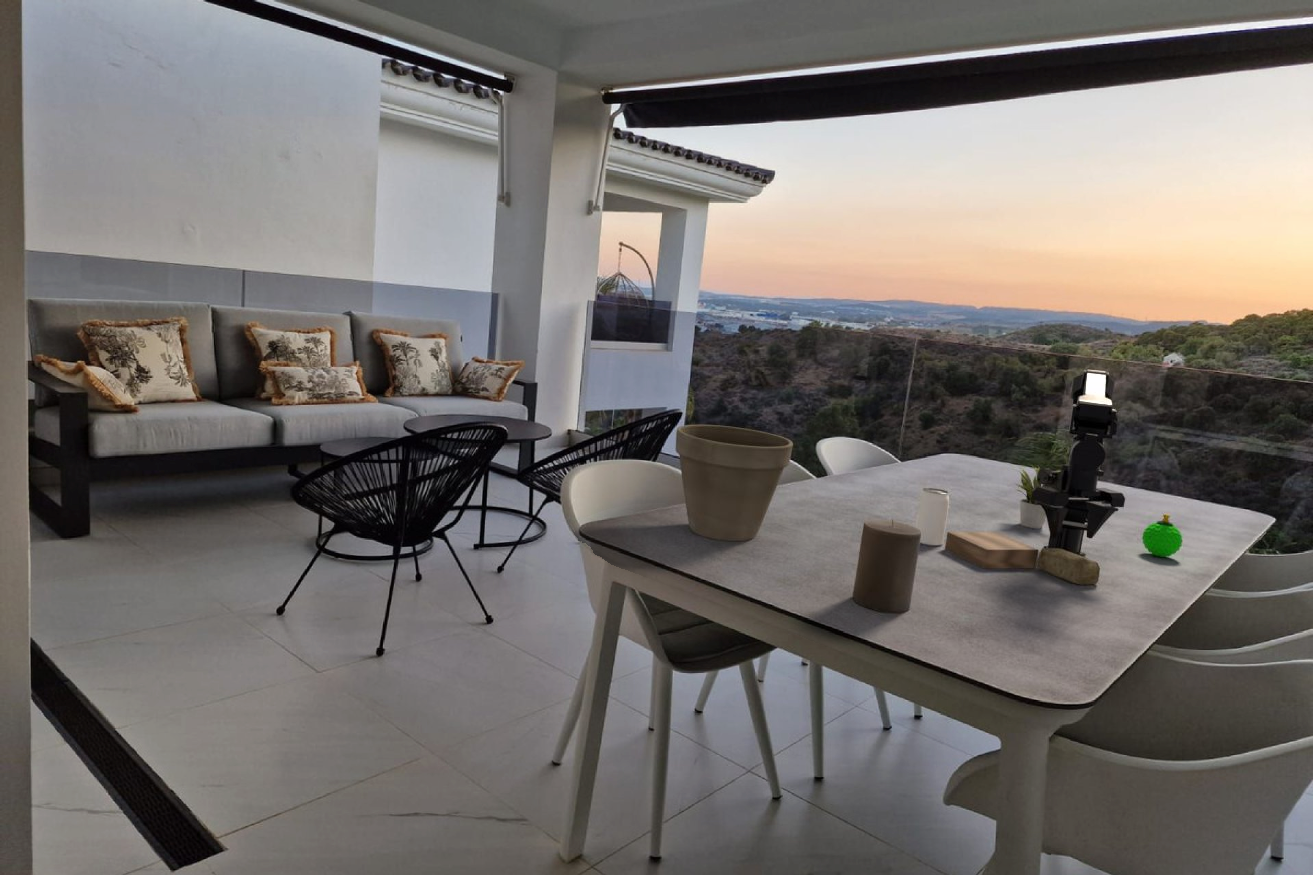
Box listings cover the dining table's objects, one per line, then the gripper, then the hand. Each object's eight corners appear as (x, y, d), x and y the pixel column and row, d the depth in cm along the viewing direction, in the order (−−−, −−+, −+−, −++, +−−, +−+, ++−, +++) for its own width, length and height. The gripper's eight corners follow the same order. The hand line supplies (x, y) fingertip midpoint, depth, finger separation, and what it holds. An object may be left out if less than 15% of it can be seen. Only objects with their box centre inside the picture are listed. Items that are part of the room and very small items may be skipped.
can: (944, 547, 185) (952, 495, 183) (914, 543, 186) (922, 491, 185) (940, 540, 192) (948, 489, 190) (911, 536, 193) (919, 485, 191)
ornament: (1141, 548, 202) (1148, 508, 200) (1180, 557, 197) (1188, 516, 196) (1137, 555, 195) (1145, 513, 194) (1177, 563, 190) (1185, 521, 189)
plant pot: (805, 543, 178) (818, 443, 175) (715, 554, 164) (726, 446, 161) (731, 514, 198) (741, 424, 195) (645, 521, 184) (654, 424, 181)
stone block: (1078, 587, 165) (1082, 563, 165) (1033, 569, 176) (1036, 546, 175) (1099, 586, 167) (1104, 562, 167) (1053, 568, 178) (1057, 545, 177)
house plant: (1070, 527, 218) (1080, 466, 215) (1063, 537, 206) (1074, 472, 203) (1012, 516, 225) (1021, 456, 222) (1002, 525, 213) (1012, 462, 211)
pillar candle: (876, 615, 138) (889, 527, 136) (841, 594, 147) (853, 511, 144) (922, 612, 142) (936, 526, 140) (885, 592, 151) (897, 511, 148)
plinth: (993, 549, 188) (996, 532, 187) (1035, 567, 176) (1038, 549, 175) (944, 549, 184) (947, 531, 183) (984, 568, 172) (987, 549, 171)
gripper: (1089, 456, 178) (1077, 527, 181) (1018, 453, 173) (1006, 526, 175) (1133, 467, 168) (1119, 542, 170) (1058, 464, 162) (1045, 542, 165)
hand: (1071, 537), depth 170 cm, fingers open, 9 cm apart
